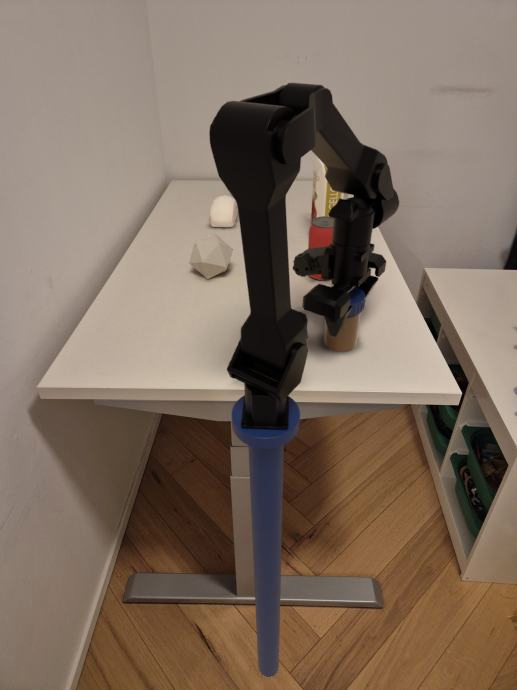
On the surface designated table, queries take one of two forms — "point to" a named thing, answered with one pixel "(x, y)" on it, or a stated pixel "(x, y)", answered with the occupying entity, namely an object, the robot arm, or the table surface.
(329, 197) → the juice carton
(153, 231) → the table surface
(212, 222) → the computer mouse
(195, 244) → the die
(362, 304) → the lid
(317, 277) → the beer can
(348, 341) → the jar
